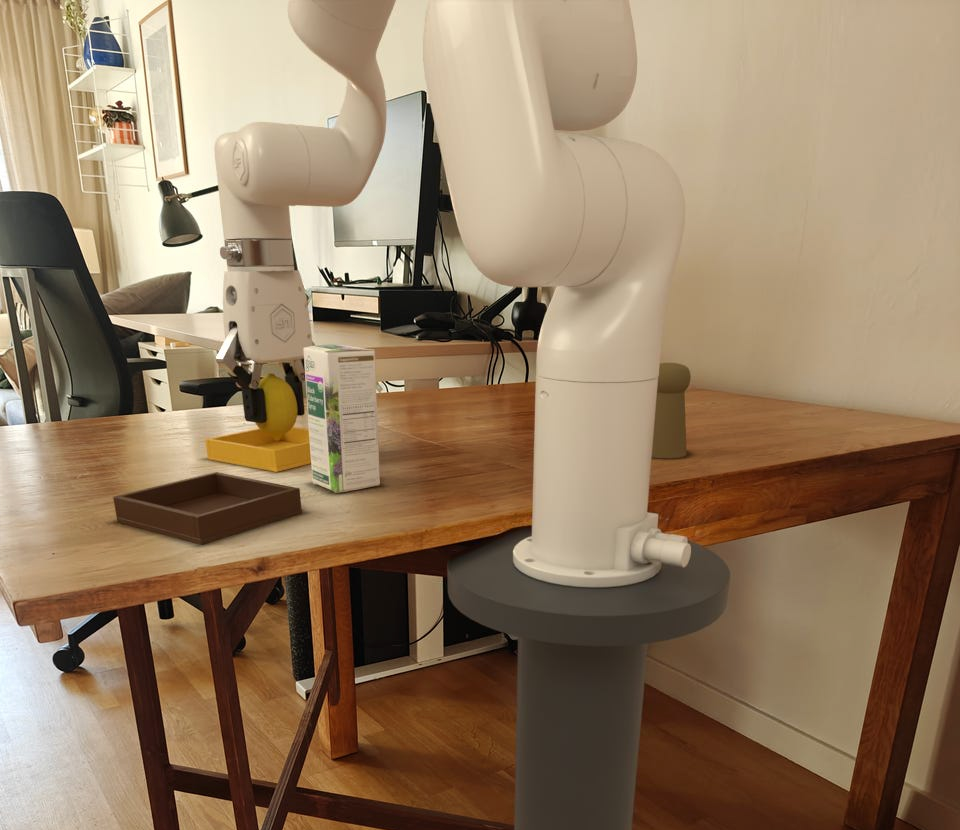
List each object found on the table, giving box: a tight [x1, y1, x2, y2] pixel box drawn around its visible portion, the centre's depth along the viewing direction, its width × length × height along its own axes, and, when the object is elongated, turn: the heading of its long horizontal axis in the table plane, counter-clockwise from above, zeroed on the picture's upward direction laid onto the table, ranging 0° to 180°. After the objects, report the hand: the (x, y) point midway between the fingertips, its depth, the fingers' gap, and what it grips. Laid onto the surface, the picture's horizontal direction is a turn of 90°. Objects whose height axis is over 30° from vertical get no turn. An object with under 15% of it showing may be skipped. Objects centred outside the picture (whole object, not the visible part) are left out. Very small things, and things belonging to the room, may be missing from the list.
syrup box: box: [304, 344, 381, 494], centre depth 92 cm, size 6×6×14 cm
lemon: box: [254, 372, 298, 440], centre depth 106 cm, size 6×6×8 cm
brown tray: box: [112, 471, 303, 545], centre depth 83 cm, size 12×12×2 cm
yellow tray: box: [204, 425, 311, 473], centre depth 108 cm, size 12×12×2 cm
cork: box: [652, 362, 692, 459], centre depth 108 cm, size 6×6×11 cm
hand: (275, 416), depth 106 cm, fingers closed on lemon, 5 cm apart
